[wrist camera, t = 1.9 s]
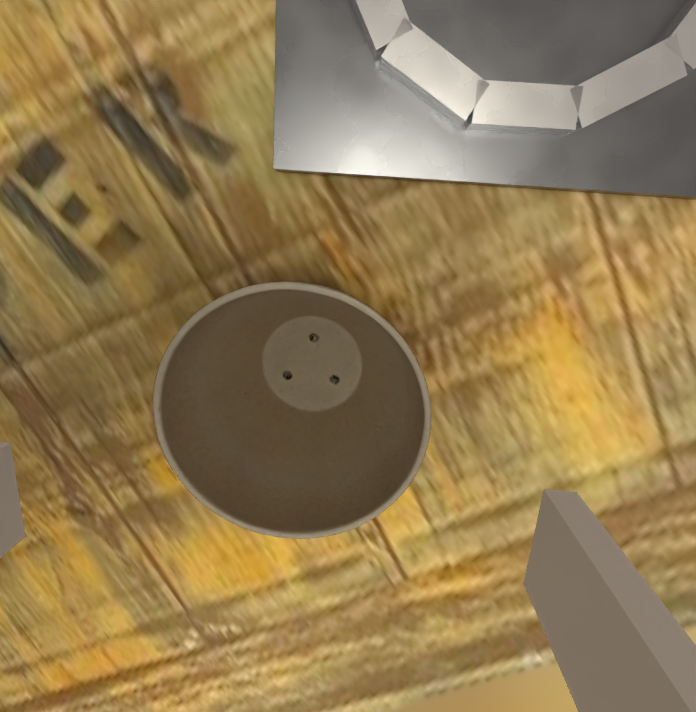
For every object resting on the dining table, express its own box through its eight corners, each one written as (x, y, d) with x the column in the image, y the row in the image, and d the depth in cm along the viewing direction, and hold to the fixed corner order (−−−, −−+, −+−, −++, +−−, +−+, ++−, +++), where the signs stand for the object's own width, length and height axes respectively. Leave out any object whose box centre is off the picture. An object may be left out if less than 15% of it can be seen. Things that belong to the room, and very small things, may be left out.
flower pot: (176, 341, 23) (93, 392, 16) (332, 220, 21) (316, 217, 14) (296, 482, 25) (270, 582, 18) (449, 384, 23) (486, 454, 16)
